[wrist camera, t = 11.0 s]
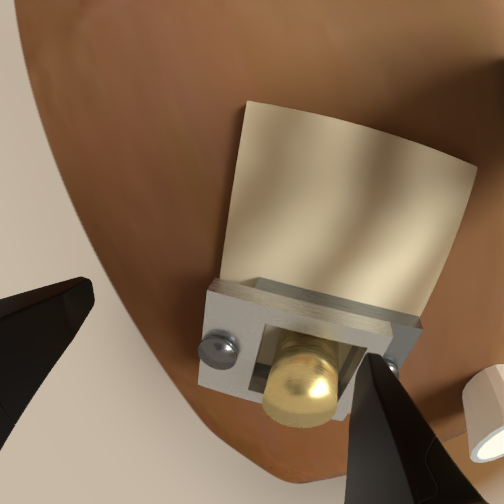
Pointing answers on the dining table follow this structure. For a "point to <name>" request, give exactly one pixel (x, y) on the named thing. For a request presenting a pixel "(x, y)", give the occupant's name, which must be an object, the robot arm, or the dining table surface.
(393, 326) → the square frame with knobs
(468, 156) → the dining table surface
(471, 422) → the white short tapered cylinder
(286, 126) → the board
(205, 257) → the dining table surface
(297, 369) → the pin
